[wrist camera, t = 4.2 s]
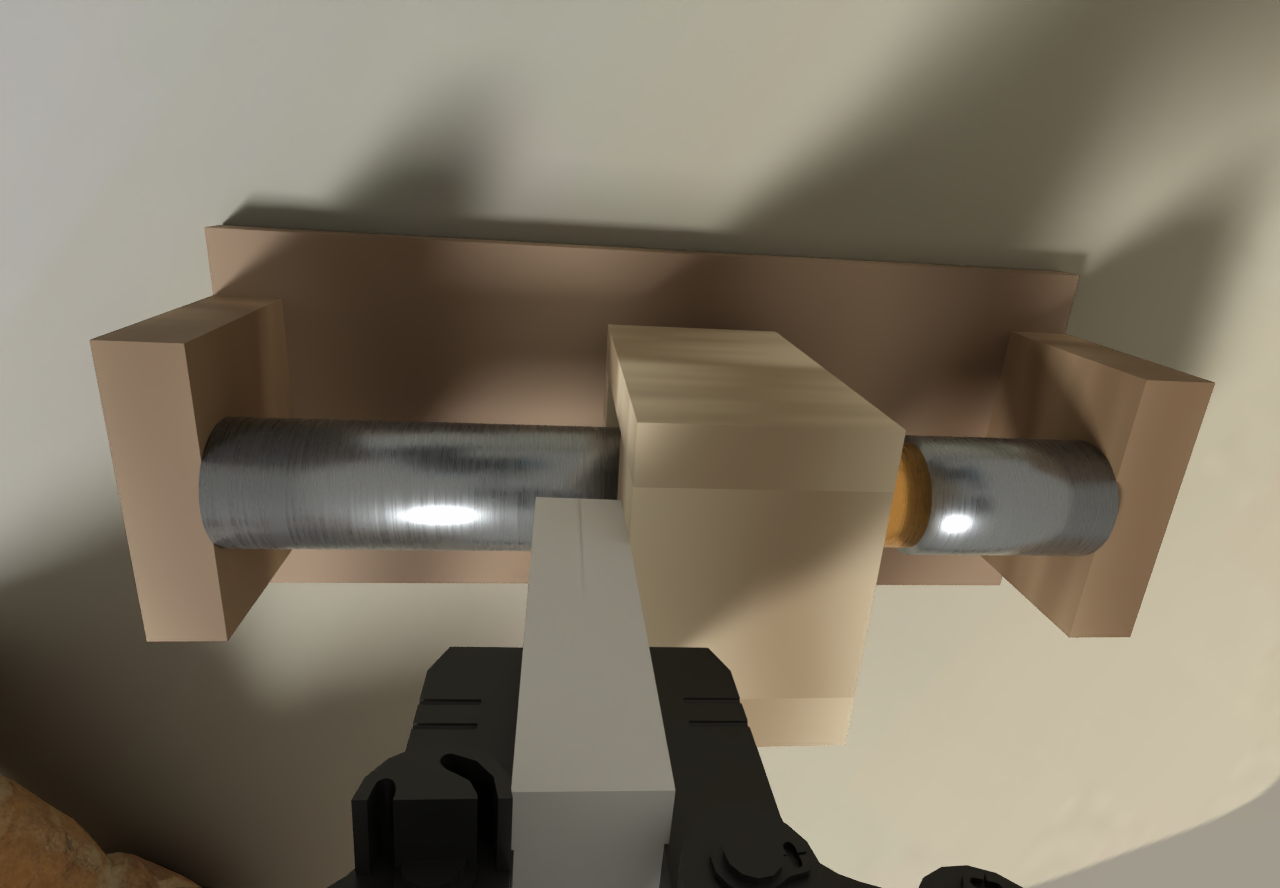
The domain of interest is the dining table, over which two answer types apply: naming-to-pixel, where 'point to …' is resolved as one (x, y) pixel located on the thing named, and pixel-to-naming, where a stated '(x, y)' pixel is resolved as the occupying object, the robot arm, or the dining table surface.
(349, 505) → the rod
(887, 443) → the collar
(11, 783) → the pipe
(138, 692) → the dining table surface
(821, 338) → the cradle
